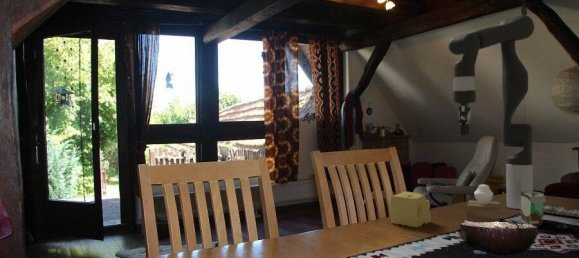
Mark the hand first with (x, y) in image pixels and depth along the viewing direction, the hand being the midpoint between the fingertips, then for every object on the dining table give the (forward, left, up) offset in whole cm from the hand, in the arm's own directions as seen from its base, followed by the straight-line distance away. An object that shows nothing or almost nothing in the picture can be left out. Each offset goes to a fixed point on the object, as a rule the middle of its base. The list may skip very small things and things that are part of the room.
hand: (465, 134), depth 159 cm
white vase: (+3, +6, -24) cm, 25 cm away
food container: (0, +22, -30) cm, 37 cm away
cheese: (+15, -17, -30) cm, 38 cm away
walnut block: (+3, +6, -30) cm, 31 cm away
